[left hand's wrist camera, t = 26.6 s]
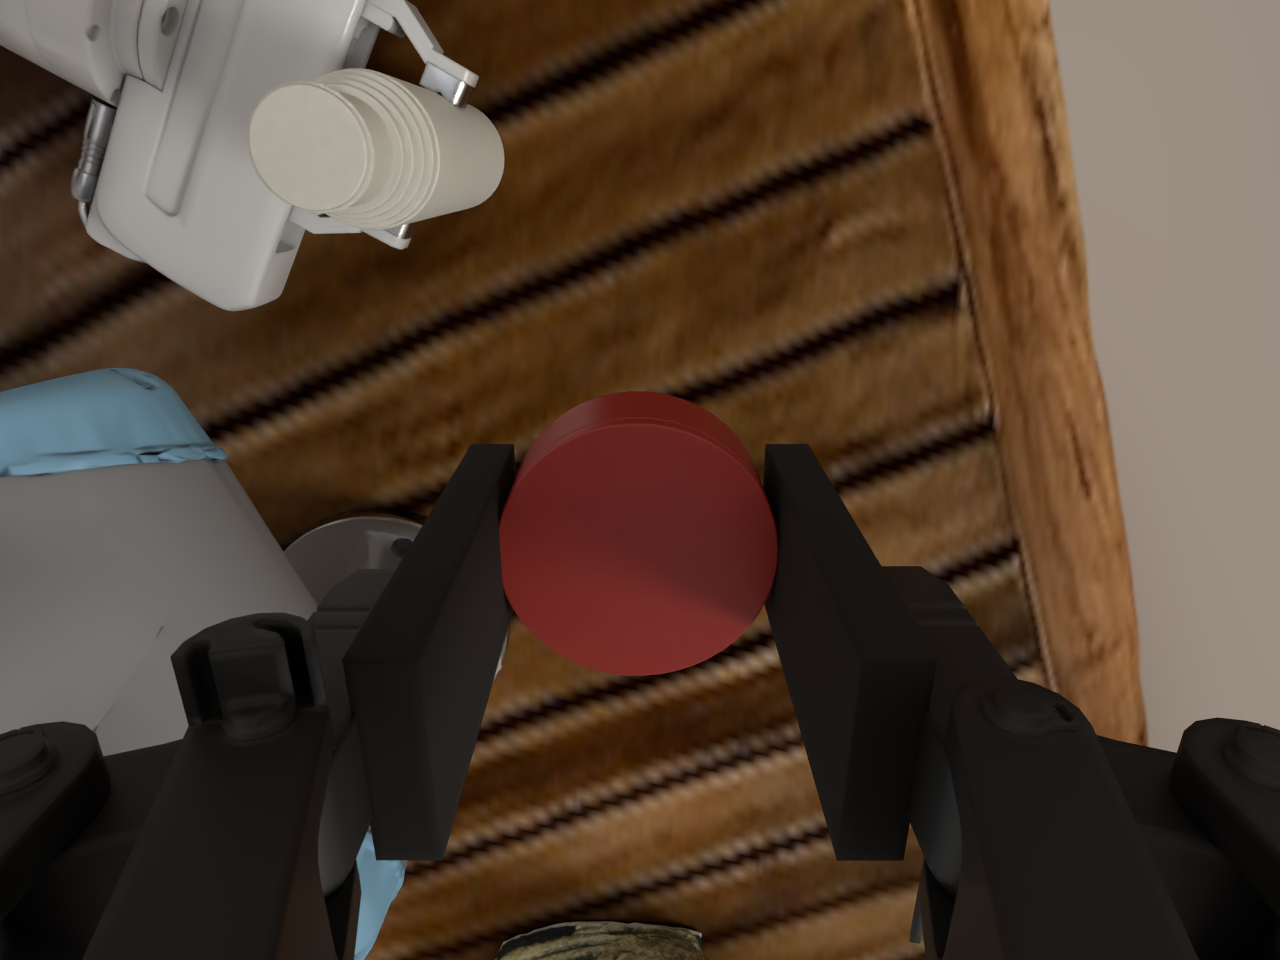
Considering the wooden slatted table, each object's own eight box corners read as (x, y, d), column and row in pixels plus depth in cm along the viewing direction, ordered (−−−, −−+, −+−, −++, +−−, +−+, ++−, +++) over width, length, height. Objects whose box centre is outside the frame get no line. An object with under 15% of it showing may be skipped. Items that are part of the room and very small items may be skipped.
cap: (473, 558, 15) (451, 611, 13) (579, 344, 13) (570, 371, 11) (686, 653, 15) (692, 714, 14) (809, 461, 14) (833, 503, 12)
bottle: (441, 76, 39) (274, 1, 21) (525, 150, 40) (433, 138, 22) (383, 162, 40) (181, 159, 22) (465, 230, 41) (336, 279, 24)
